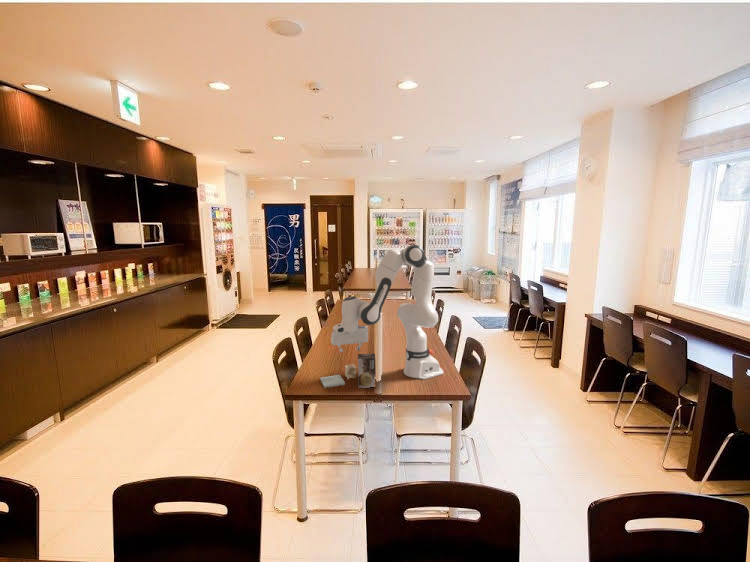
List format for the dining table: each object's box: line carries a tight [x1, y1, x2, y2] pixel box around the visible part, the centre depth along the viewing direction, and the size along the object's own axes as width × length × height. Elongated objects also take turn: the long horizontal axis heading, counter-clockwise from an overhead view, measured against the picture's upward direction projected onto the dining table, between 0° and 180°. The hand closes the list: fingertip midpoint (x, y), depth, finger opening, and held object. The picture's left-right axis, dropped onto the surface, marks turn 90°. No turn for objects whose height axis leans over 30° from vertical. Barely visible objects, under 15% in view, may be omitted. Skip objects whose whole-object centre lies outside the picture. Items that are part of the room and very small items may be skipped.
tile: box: [319, 374, 346, 389], centre depth 186 cm, size 11×11×1 cm
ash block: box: [344, 363, 357, 380], centre depth 193 cm, size 5×5×6 cm
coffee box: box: [357, 353, 377, 389], centre depth 181 cm, size 9×6×16 cm
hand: (349, 351), depth 191 cm, fingers open, 8 cm apart
